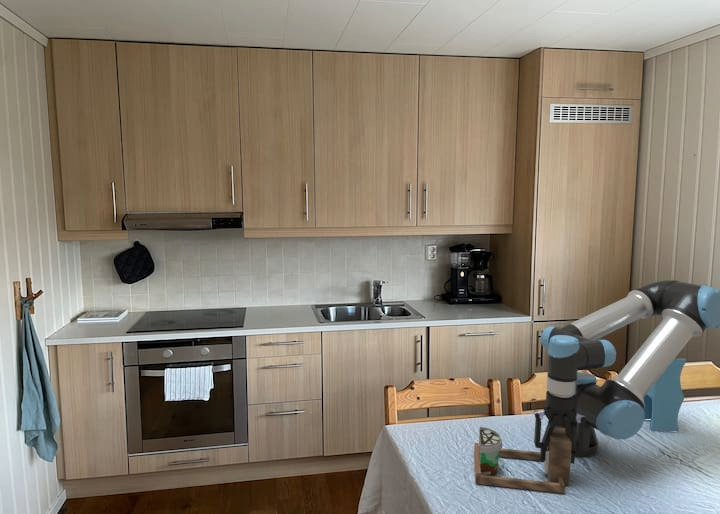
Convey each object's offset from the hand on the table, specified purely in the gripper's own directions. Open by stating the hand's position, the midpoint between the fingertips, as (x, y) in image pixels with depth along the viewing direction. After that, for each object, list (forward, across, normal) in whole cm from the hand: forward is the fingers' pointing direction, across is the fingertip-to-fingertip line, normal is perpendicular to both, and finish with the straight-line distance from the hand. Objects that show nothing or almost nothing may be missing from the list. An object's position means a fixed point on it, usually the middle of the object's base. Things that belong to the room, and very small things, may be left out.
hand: (556, 472), depth 143 cm
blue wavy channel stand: (+1, -40, -41) cm, 57 cm away
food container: (+1, +18, 0) cm, 18 cm away
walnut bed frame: (+1, +10, 0) cm, 10 cm away
